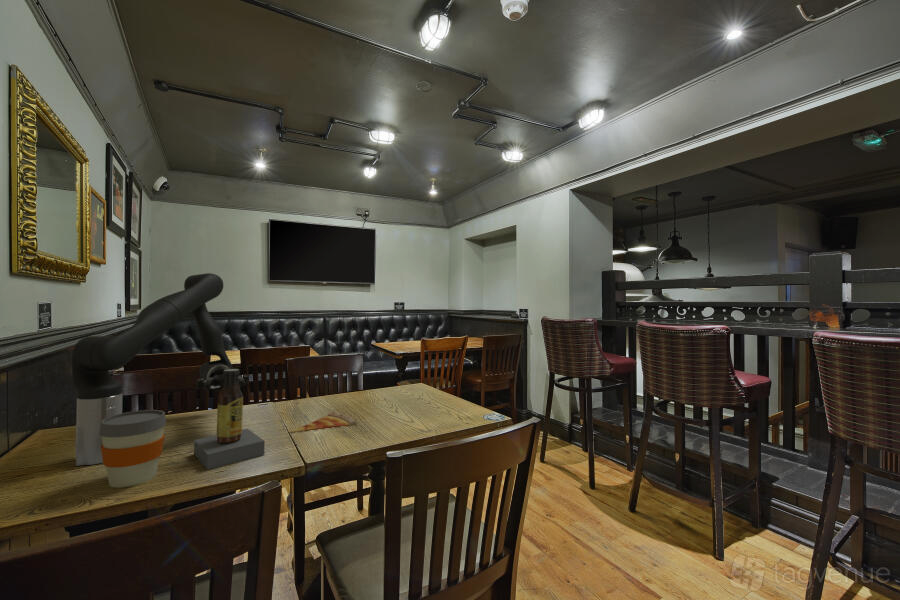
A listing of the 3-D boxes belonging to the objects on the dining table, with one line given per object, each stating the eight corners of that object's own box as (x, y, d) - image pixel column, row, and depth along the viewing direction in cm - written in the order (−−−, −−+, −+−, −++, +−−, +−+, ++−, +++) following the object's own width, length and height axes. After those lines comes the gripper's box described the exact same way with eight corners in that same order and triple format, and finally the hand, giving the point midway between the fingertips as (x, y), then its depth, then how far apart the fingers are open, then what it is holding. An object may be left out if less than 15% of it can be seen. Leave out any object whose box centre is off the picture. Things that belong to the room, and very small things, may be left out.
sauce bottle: (233, 444, 105) (234, 372, 105) (211, 444, 106) (212, 371, 106) (246, 436, 112) (247, 368, 112) (225, 435, 112) (226, 367, 112)
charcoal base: (207, 470, 99) (207, 454, 99) (193, 454, 108) (194, 440, 109) (264, 454, 109) (264, 440, 109) (247, 441, 118) (247, 428, 118)
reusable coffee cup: (171, 478, 94) (172, 416, 94) (102, 497, 85) (103, 429, 85) (158, 463, 102) (159, 406, 102) (95, 478, 93) (96, 417, 93)
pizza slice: (287, 421, 141) (287, 415, 141) (349, 414, 150) (349, 409, 150) (288, 434, 126) (289, 428, 126) (357, 426, 136) (357, 420, 136)
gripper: (195, 367, 127) (198, 375, 114) (244, 364, 135) (251, 371, 122) (195, 390, 127) (197, 401, 113) (243, 385, 135) (251, 395, 122)
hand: (225, 385), depth 118 cm, fingers open, 8 cm apart
